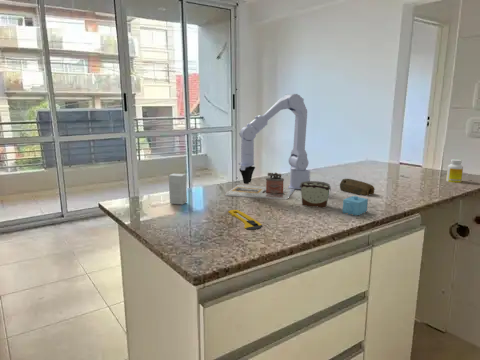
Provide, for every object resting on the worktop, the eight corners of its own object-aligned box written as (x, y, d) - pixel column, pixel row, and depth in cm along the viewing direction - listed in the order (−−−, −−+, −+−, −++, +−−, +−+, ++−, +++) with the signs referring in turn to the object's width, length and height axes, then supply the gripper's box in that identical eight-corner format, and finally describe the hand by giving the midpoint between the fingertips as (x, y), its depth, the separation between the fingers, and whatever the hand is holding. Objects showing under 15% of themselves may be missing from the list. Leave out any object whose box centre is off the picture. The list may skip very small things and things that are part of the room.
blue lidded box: (353, 222, 129) (354, 201, 128) (337, 218, 133) (338, 198, 132) (368, 214, 138) (369, 195, 136) (353, 211, 142) (354, 192, 140)
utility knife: (248, 234, 119) (248, 228, 118) (221, 214, 138) (221, 209, 138) (267, 231, 122) (267, 225, 121) (237, 212, 141) (237, 207, 141)
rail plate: (294, 191, 172) (294, 188, 172) (287, 201, 156) (287, 198, 155) (238, 186, 181) (238, 184, 181) (225, 195, 164) (225, 193, 164)
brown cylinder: (337, 193, 169) (338, 179, 167) (345, 190, 174) (346, 176, 172) (367, 199, 158) (368, 184, 157) (375, 196, 163) (376, 182, 161)
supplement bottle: (463, 186, 181) (467, 161, 178) (449, 186, 181) (453, 161, 178) (455, 183, 187) (459, 158, 185) (442, 183, 187) (445, 158, 185)
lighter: (283, 194, 167) (284, 172, 165) (283, 195, 164) (283, 173, 162) (266, 193, 169) (266, 171, 166) (265, 194, 165) (265, 173, 163)
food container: (332, 206, 147) (334, 182, 145) (329, 211, 142) (331, 185, 140) (302, 203, 152) (303, 179, 150) (298, 207, 147) (299, 182, 145)
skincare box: (187, 202, 154) (186, 174, 151) (182, 204, 150) (181, 176, 147) (174, 200, 156) (173, 173, 153) (169, 203, 152) (168, 175, 149)
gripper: (243, 151, 174) (243, 179, 177) (233, 155, 161) (233, 185, 164) (258, 151, 172) (257, 180, 175) (249, 156, 159) (249, 186, 162)
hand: (247, 182), depth 169 cm, fingers open, 3 cm apart
